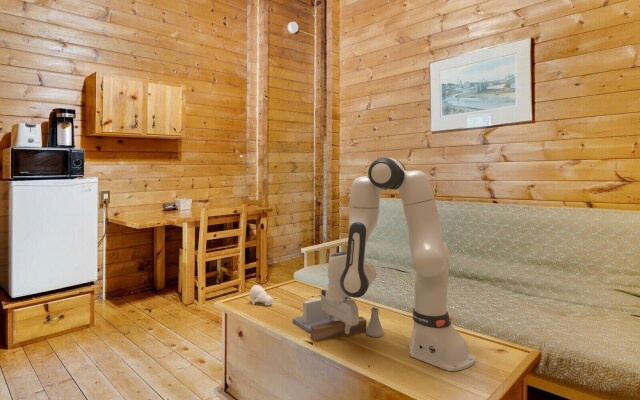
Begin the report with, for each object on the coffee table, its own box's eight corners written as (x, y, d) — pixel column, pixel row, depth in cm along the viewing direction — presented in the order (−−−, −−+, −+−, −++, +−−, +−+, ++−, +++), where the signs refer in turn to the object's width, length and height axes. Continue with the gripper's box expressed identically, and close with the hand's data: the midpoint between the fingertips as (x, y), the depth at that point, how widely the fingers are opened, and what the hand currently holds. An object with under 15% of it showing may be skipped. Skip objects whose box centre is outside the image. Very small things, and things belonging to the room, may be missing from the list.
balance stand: (345, 323, 160) (345, 299, 159) (309, 333, 150) (309, 308, 149) (327, 313, 171) (327, 291, 170) (292, 322, 161) (292, 299, 160)
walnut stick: (366, 332, 151) (366, 320, 151) (314, 342, 143) (314, 329, 142) (361, 328, 155) (361, 316, 155) (310, 338, 146) (310, 325, 146)
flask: (363, 336, 148) (363, 310, 147) (367, 328, 154) (367, 304, 153) (382, 338, 145) (382, 313, 144) (385, 331, 152) (385, 306, 151)
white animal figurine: (256, 282, 188) (276, 288, 182) (255, 299, 189) (275, 305, 183) (248, 286, 182) (268, 292, 177) (247, 303, 183) (267, 310, 178)
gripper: (363, 300, 141) (362, 336, 142) (330, 286, 158) (330, 319, 159) (349, 303, 137) (349, 340, 138) (317, 288, 154) (318, 322, 155)
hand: (339, 329), depth 149 cm, fingers open, 8 cm apart
